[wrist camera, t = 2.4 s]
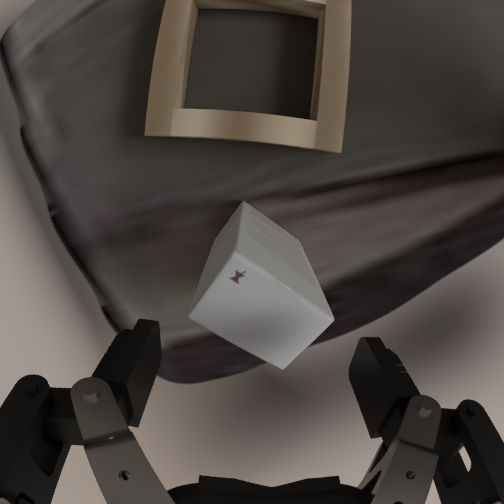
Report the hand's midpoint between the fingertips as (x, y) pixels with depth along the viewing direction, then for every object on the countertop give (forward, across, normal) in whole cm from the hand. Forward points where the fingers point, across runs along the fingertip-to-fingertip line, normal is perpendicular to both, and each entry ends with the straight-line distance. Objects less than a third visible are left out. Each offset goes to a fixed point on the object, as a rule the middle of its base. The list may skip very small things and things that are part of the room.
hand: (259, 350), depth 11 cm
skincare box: (+15, 0, 0) cm, 15 cm away
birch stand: (+14, +2, -15) cm, 21 cm away
